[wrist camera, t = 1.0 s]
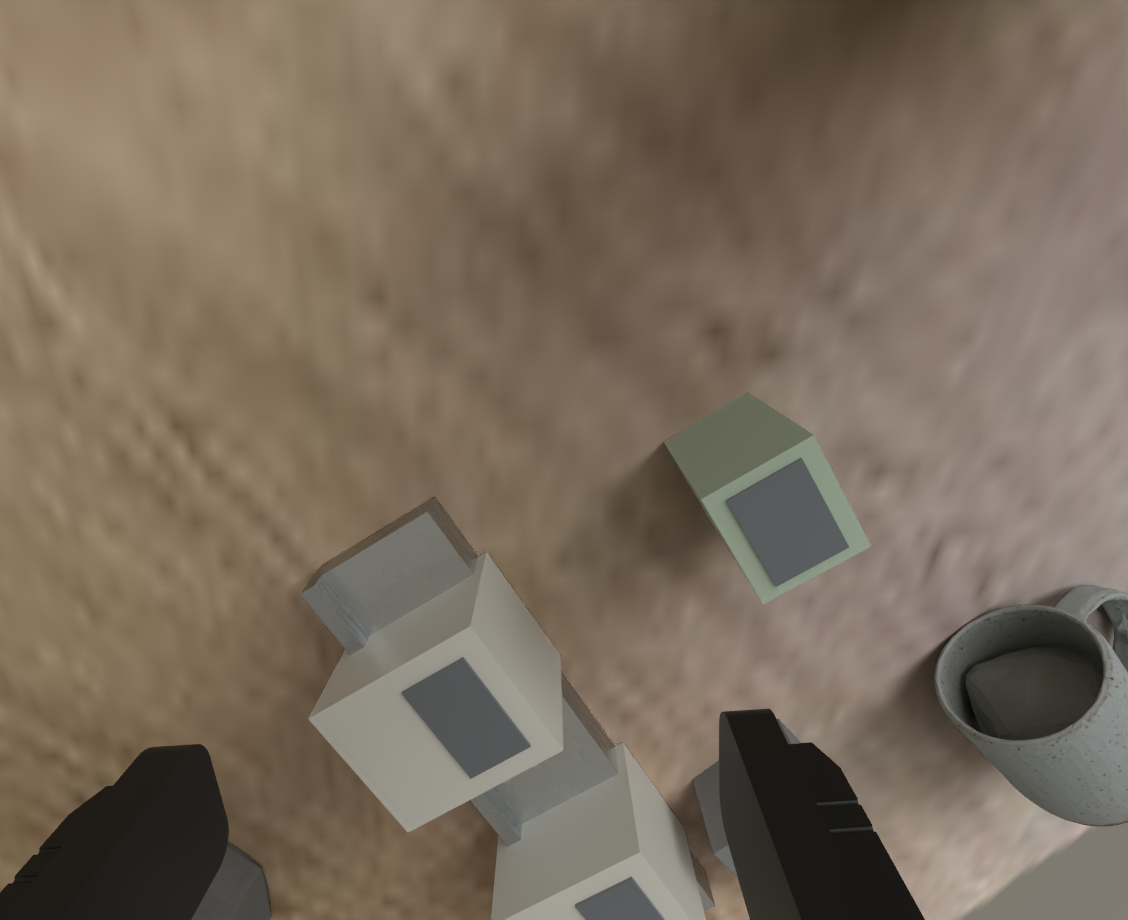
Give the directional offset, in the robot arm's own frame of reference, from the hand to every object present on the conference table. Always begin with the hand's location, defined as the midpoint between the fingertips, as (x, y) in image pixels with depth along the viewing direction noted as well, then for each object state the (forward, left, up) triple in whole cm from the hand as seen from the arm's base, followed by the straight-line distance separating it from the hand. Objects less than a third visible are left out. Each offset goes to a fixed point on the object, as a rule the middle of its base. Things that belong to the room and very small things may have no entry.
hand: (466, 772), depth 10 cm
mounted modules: (+9, +14, -22) cm, 27 cm away
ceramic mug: (-16, +24, -22) cm, 36 cm away
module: (-8, +6, -22) cm, 24 cm away
